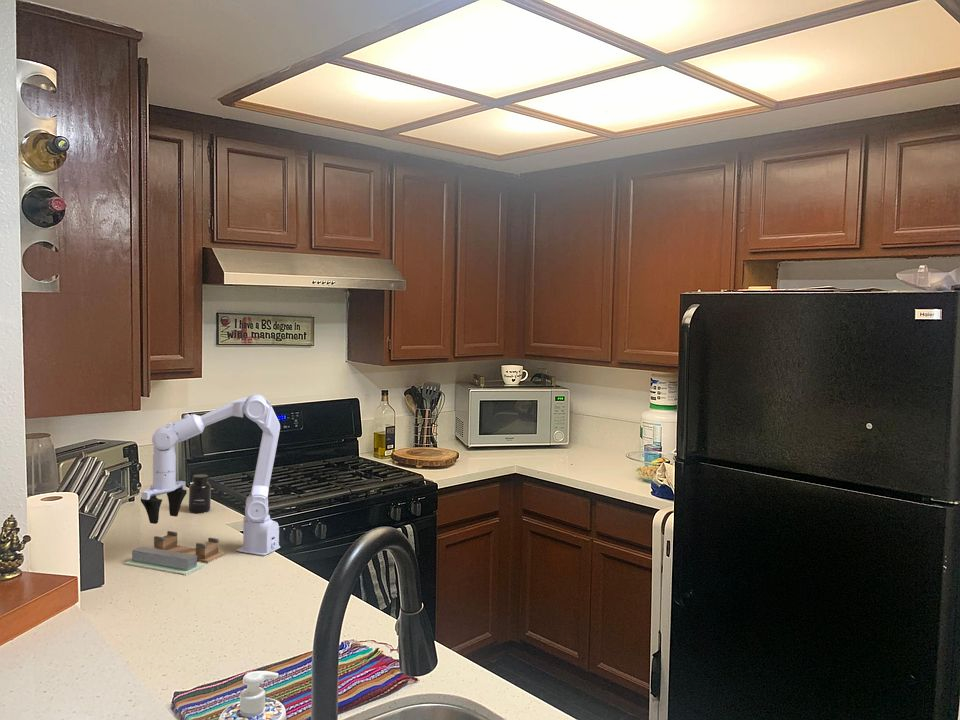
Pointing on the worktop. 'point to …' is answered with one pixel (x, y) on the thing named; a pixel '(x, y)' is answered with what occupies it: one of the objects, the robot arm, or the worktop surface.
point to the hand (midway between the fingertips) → (164, 519)
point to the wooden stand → (202, 551)
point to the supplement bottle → (199, 494)
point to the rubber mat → (162, 567)
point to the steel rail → (164, 558)
